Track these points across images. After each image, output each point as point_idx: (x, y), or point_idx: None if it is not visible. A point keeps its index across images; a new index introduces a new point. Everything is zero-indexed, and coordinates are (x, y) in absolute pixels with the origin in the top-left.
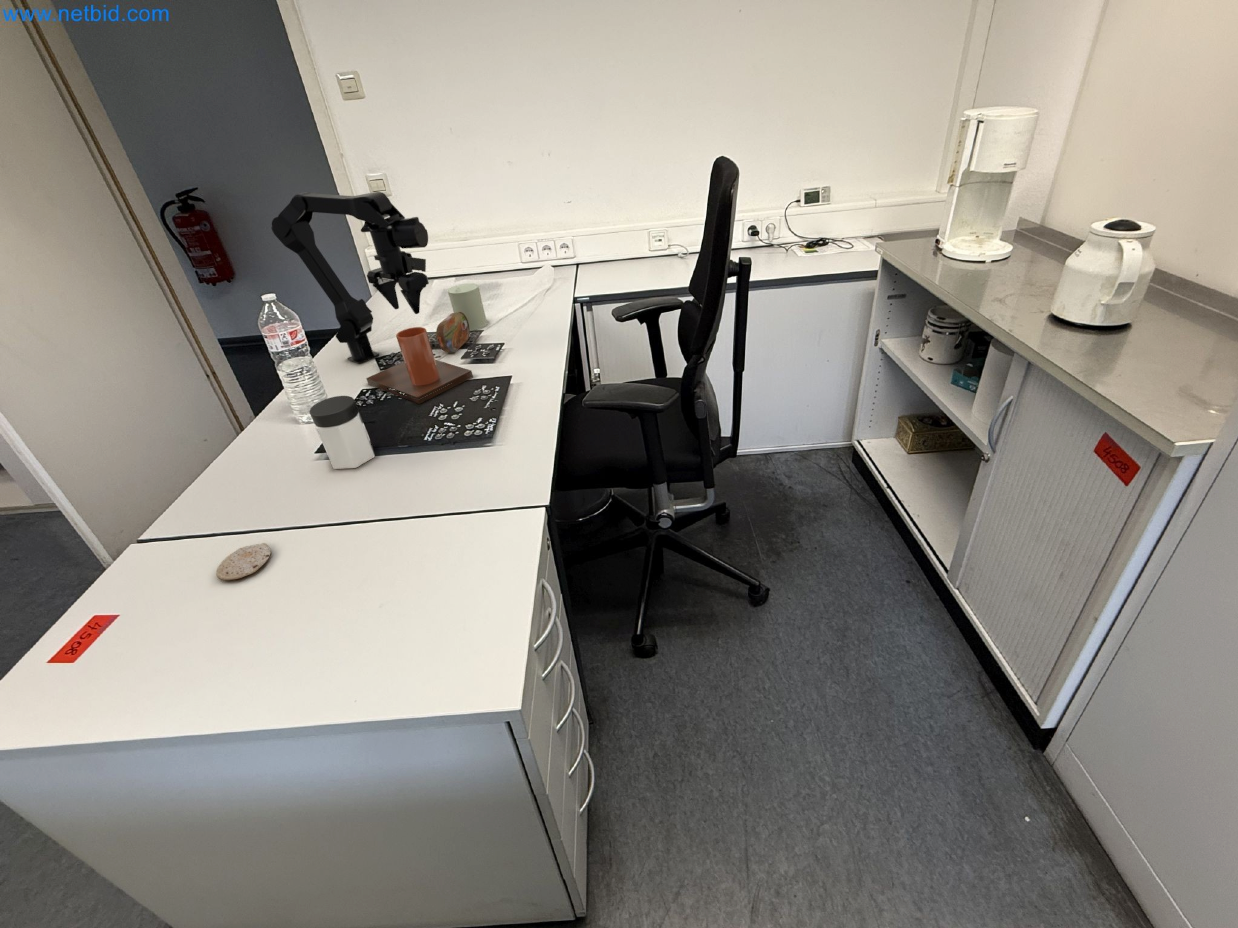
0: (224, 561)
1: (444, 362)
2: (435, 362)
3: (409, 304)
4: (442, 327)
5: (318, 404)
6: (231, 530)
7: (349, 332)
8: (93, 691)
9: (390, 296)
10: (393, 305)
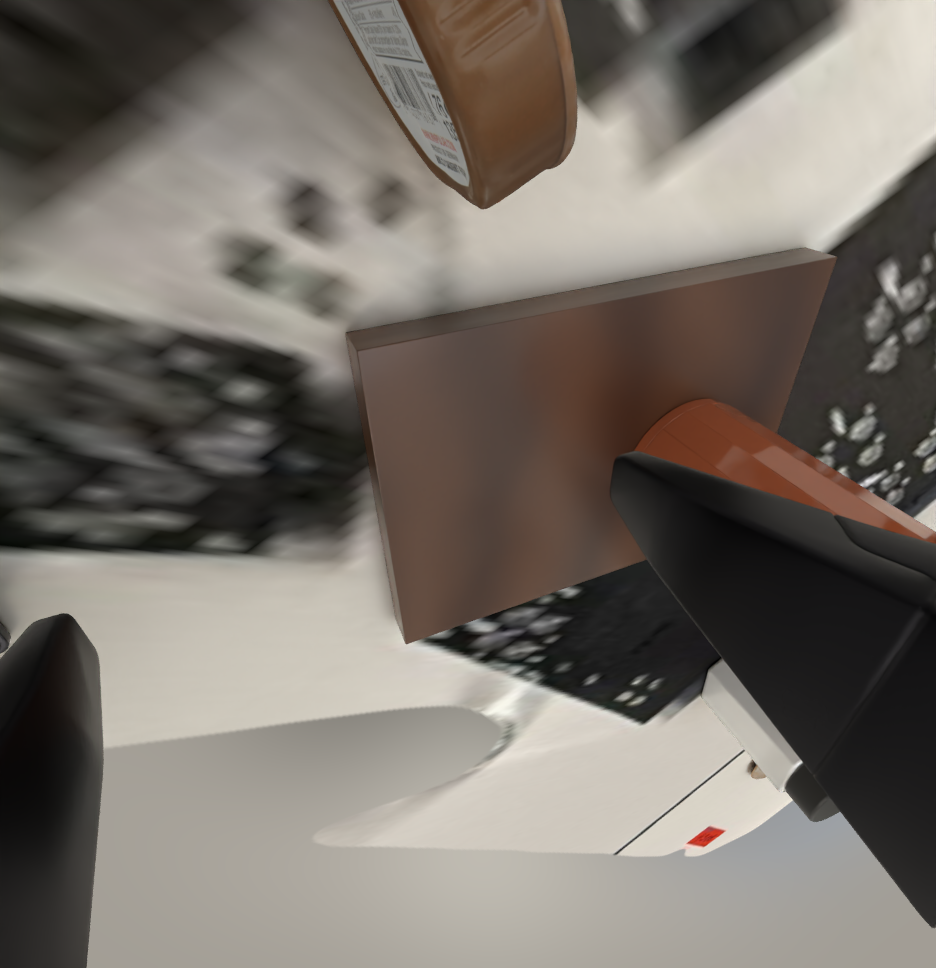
0: (758, 776)
1: (635, 297)
2: (783, 438)
3: (727, 638)
4: (549, 113)
5: (821, 813)
6: (700, 783)
7: None
8: (768, 807)
9: (33, 940)
10: (99, 735)
